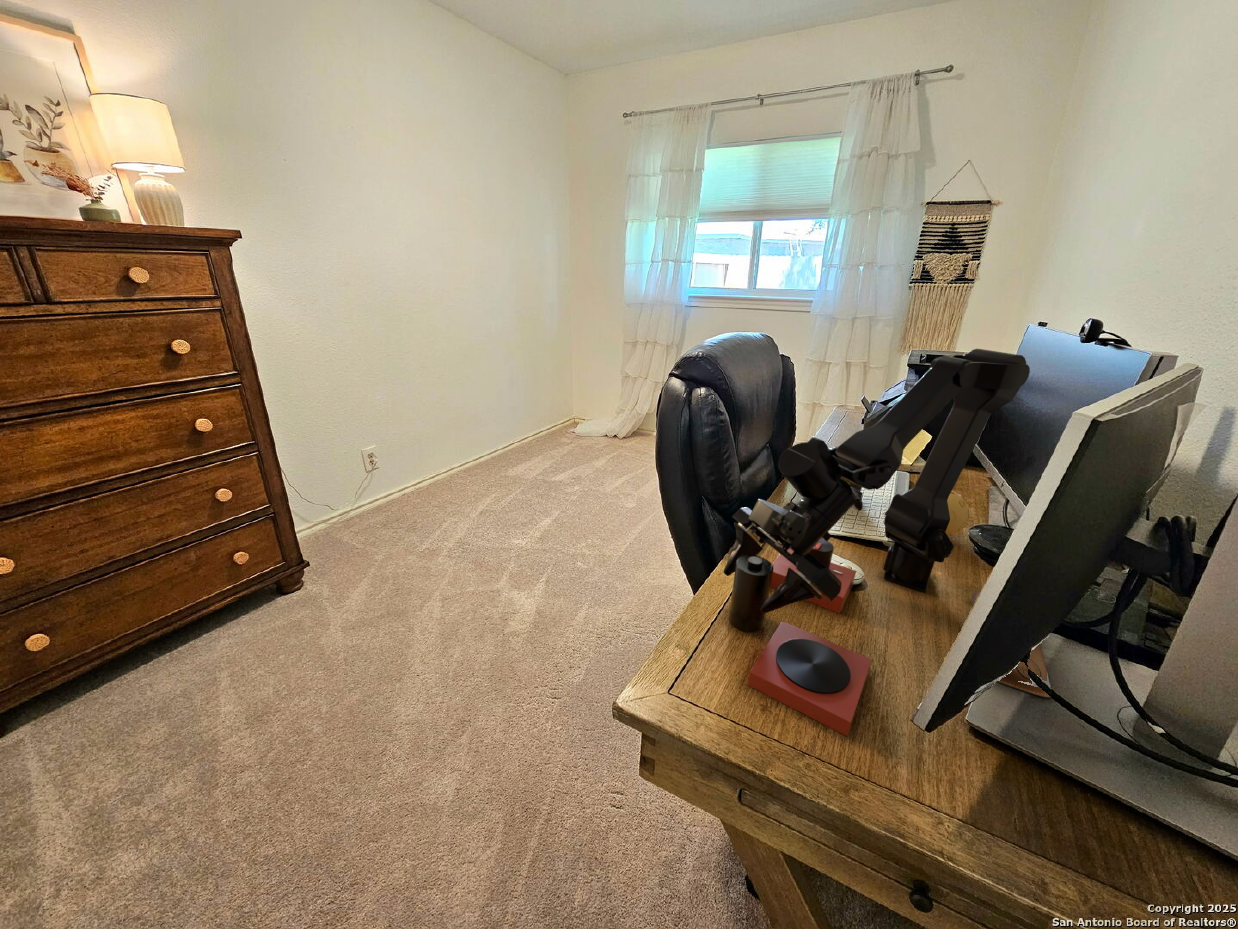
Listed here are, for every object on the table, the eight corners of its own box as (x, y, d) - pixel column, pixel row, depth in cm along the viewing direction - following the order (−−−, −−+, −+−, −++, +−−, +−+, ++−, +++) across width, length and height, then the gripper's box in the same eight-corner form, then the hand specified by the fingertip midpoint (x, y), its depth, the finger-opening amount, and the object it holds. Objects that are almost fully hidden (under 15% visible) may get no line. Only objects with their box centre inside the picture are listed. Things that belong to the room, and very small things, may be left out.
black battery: (771, 624, 72) (782, 563, 68) (746, 637, 69) (756, 575, 65) (745, 605, 76) (754, 546, 72) (721, 616, 74) (729, 556, 69)
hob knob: (806, 554, 85) (810, 533, 83) (832, 563, 82) (837, 541, 81) (798, 566, 81) (802, 544, 80) (825, 575, 79) (830, 553, 77)
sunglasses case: (1060, 701, 60) (1041, 654, 59) (991, 700, 64) (973, 656, 63) (1035, 618, 74) (1020, 580, 73) (980, 623, 78) (966, 586, 78)
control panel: (855, 580, 83) (859, 565, 82) (839, 613, 75) (843, 597, 74) (786, 556, 89) (788, 542, 88) (764, 584, 81) (767, 568, 80)
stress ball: (893, 525, 102) (905, 482, 98) (928, 518, 105) (940, 476, 101) (936, 549, 93) (951, 503, 89) (972, 541, 96) (988, 496, 92)
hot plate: (868, 671, 64) (872, 657, 63) (847, 736, 55) (851, 720, 54) (779, 633, 71) (782, 619, 70) (747, 685, 62) (750, 670, 61)
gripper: (749, 458, 74) (680, 533, 74) (842, 513, 58) (753, 608, 58) (783, 497, 79) (719, 566, 80) (876, 557, 63) (795, 643, 64)
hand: (742, 591), depth 70 cm, fingers open, 9 cm apart
